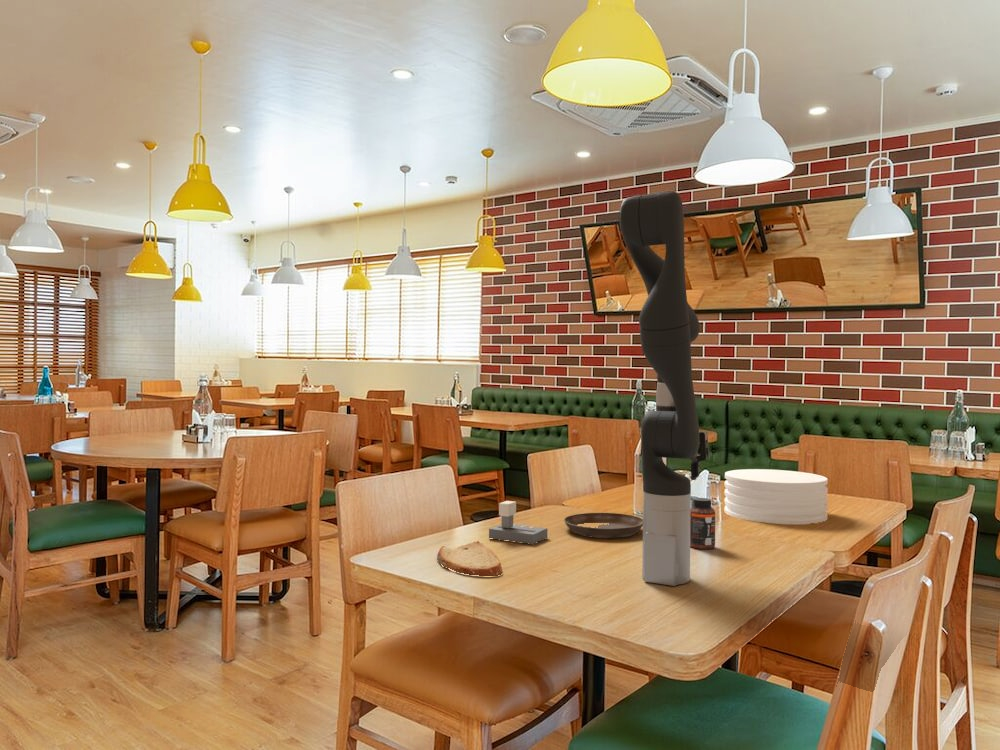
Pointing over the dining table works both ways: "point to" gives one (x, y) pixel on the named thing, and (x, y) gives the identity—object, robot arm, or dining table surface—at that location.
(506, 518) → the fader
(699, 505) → the supplement bottle
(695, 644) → the dining table surface
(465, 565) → the bread slice
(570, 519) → the plant saucer
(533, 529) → the console panel
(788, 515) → the plate stack
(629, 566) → the dining table surface
